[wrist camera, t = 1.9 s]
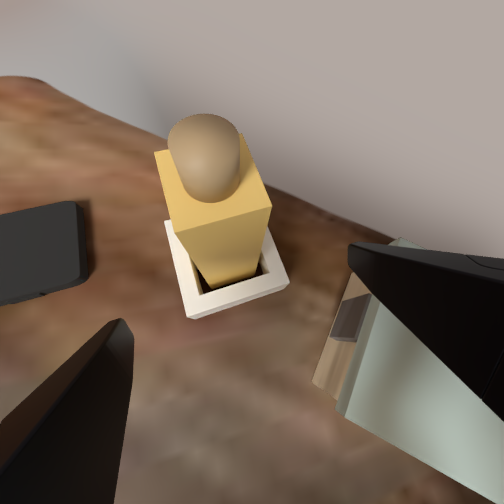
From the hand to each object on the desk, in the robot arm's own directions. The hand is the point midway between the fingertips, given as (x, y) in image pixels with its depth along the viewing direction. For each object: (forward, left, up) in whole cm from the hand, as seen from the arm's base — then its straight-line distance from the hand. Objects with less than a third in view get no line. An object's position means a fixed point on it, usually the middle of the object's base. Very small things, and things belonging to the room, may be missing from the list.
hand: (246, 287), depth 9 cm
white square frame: (+4, -2, -11) cm, 12 cm away
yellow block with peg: (+4, -2, -11) cm, 12 cm away
